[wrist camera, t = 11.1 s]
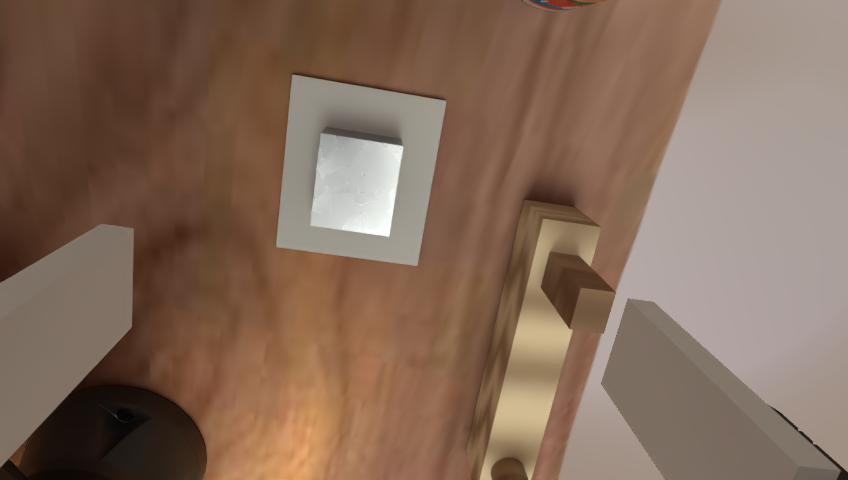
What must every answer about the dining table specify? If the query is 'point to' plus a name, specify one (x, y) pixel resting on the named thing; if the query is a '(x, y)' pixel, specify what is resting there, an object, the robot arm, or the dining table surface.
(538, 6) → the fruit juice
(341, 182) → the lever cap
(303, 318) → the dining table surface
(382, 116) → the mat
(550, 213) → the wooden peg base
